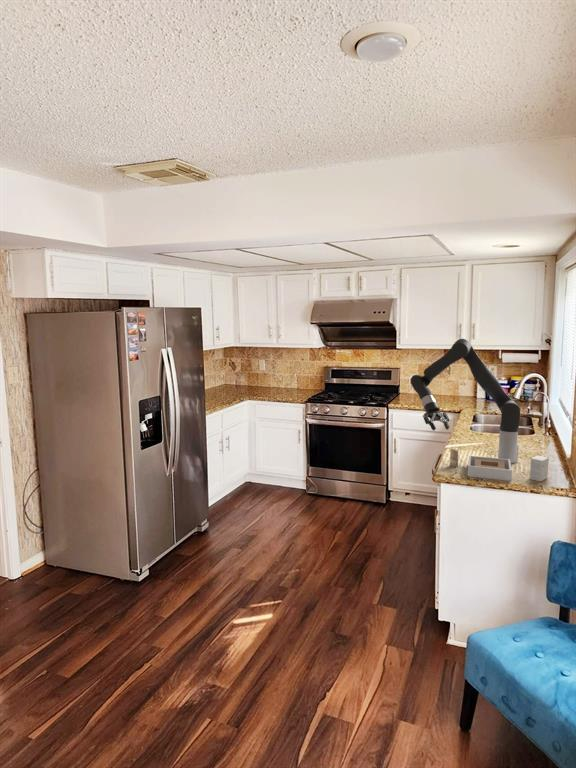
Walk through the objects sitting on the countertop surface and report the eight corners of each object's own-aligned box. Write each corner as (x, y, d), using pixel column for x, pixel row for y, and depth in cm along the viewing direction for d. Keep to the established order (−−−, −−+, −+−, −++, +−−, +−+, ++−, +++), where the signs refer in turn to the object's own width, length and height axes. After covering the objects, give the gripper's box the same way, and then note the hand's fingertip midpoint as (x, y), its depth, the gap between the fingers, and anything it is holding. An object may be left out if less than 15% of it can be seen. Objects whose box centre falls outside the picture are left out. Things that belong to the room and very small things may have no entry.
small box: (535, 475, 259) (537, 455, 257) (547, 478, 255) (549, 457, 253) (529, 479, 253) (530, 458, 252) (540, 481, 249) (542, 460, 248)
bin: (468, 465, 275) (469, 455, 274) (509, 469, 268) (510, 459, 267) (467, 476, 257) (468, 465, 256) (511, 481, 250) (511, 470, 249)
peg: (454, 465, 276) (455, 448, 274) (459, 467, 272) (460, 450, 271) (448, 465, 274) (449, 449, 273) (452, 468, 271) (453, 451, 269)
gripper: (422, 401, 286) (433, 426, 277) (443, 400, 290) (455, 424, 281) (416, 409, 291) (427, 433, 282) (437, 408, 296) (449, 432, 287)
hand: (441, 429), depth 282 cm, fingers open, 8 cm apart
